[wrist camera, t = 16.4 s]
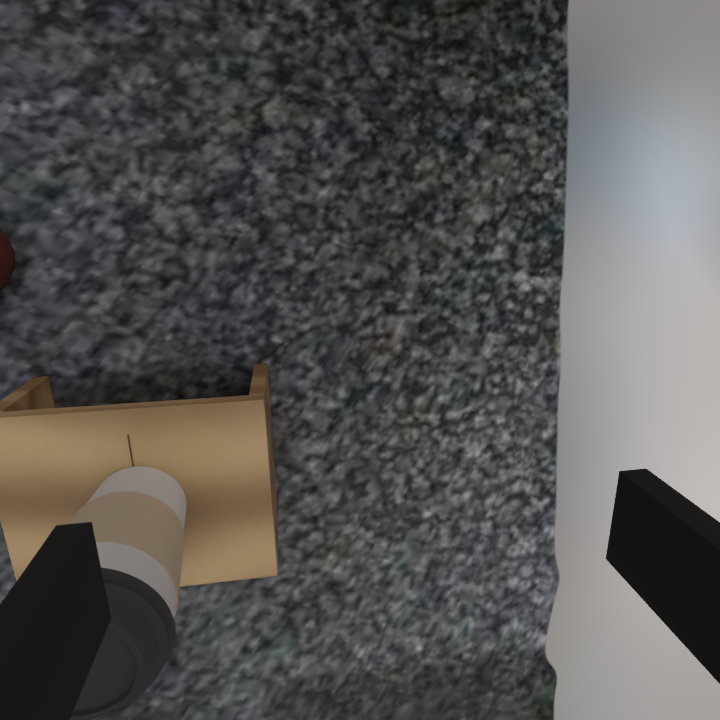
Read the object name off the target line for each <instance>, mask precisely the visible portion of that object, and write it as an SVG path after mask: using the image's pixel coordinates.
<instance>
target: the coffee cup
mask: <svg viewBox="0 0 720 720" xmlns="http://www.w3.org/2000/svg"><path fill="white" fill-rule="evenodd" d="M186 507H187V503H186V497H185V493H184V491H183V489H182V487H181V486H180V484H179V483H178V482H177V481H176V480H175V479H174V478H173V477H172V476H170V475H169V474H167V473H165V472H163V471H161V470H159V469H156V468H152V467H144V466H138V467H130V468H126V469H122V470H120V471H118V472H116V473H114V474H112V475H111V476H109V477H108V478H107V479H106V480H105V481H104V482H103V483H102V484H101V485H100V487H99V488H98V489H97V490H96V492H95V493H94V494H93V496H92V497H91V498H90V499H89V501H88V502H87V503H86V505H84V506H83V507H82V508H81V509H80V510H79V511H78V512H77V513H76V514H75V516H74V517H73V518H72V519H71V521H70V522H69V523H68V524H75V523H85V522H92V525H93V530H94V535H95V540H96V545H97V550H98V555H99V560H100V565H101V570H102V575H103V580H104V584H105V589H106V594H107V599H108V604H109V609H110V614H111V621H110V623H109V625H108V628H107V630H106V633H105V635H104V638H103V640H102V643H101V645H100V647H99V650H98V652H97V655H96V657H95V660H94V662H93V664H92V667H91V669H90V672H89V674H88V677H87V679H86V682H85V684H84V686H83V689H82V691H81V694H80V696H79V699H78V701H77V703H76V706H75V708H74V711H73V713H72V716H71V718H70V720H89V719H93V718H96V717H99V716H102V715H104V714H106V713H108V712H110V711H112V710H114V709H120V708H123V707H124V706H126V705H127V704H128V703H129V702H130V701H131V700H133V699H135V698H136V697H138V696H139V695H140V694H141V693H143V692H144V691H145V690H146V689H147V688H148V687H149V686H150V685H151V684H152V683H153V682H154V680H155V679H156V678H157V676H158V675H159V673H160V672H161V670H162V668H163V666H164V665H165V663H166V662H167V660H168V658H169V656H170V654H171V652H172V649H173V646H174V642H175V623H174V617H175V615H176V611H177V607H178V598H179V588H180V578H181V567H182V557H183V547H184V524H185V516H186Z"/></svg>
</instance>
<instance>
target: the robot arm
mask: <svg viewBox="0 0 720 720" xmlns="http://www.w3.org/2000/svg"><path fill="white" fill-rule="evenodd" d="M606 559H607V560H608V561H609V562H610V564H611V565H612V566H613V567H614V568H615V569H616V570H617V571H618V572H619V574H620V575H621V576H622V577H623V578H624V579H625V580H626V581H627V582H628V583H629V585H630V586H631V587H632V588H633V589H634V590H635V591H636V592H637V593H638V594H639V595H640V597H641V598H642V599H643V600H644V601H645V602H646V603H647V604H648V605H649V607H650V608H651V609H652V610H653V611H654V612H655V613H656V614H657V615H658V616H659V618H660V619H661V620H662V621H663V622H664V623H665V624H666V625H667V626H668V627H669V629H670V630H671V631H672V632H673V633H674V634H675V635H676V636H677V637H678V638H679V640H680V641H681V642H682V643H683V644H684V645H685V646H686V647H687V648H688V649H689V650H690V652H691V653H692V654H693V655H694V656H695V657H696V658H697V659H698V660H699V661H700V663H701V664H702V665H703V666H704V667H705V668H706V669H707V670H708V671H709V672H710V674H711V675H712V676H713V677H714V678H715V679H716V680H717V681H718V682H719V683H720V522H718V521H717V520H715V519H714V518H713V517H711V516H710V515H709V514H707V513H706V512H704V511H703V510H701V509H700V508H699V507H698V506H696V505H695V504H694V503H692V502H691V501H690V500H688V499H687V498H685V497H684V496H683V495H681V494H680V493H678V492H677V491H676V490H674V489H673V488H672V487H670V486H669V485H667V484H666V483H665V482H664V481H662V480H661V479H659V478H658V477H657V476H655V475H654V474H653V473H651V472H650V471H648V470H647V469H639V470H628V471H620V472H619V478H618V485H617V491H616V498H615V504H614V510H613V517H612V523H611V529H610V536H609V542H608V549H607V555H606ZM110 621H111V614H110V609H109V604H108V599H107V594H106V589H105V584H104V580H103V575H102V570H101V565H100V560H99V555H98V550H97V545H96V540H95V535H94V530H93V525H92V522H85V523H75V524H64V525H56V526H55V527H54V529H53V530H52V532H51V533H50V535H49V536H48V537H47V539H46V540H45V542H44V543H43V545H42V546H41V547H40V549H39V550H38V552H37V553H36V555H35V556H34V557H33V559H32V560H31V562H30V563H29V565H28V566H27V567H26V569H25V570H24V572H23V573H22V575H21V576H20V577H19V579H18V580H17V582H16V583H15V585H14V586H13V587H12V589H11V590H10V592H9V593H8V595H7V596H6V597H5V599H4V600H3V602H2V603H1V605H0V720H70V718H71V716H72V713H73V711H74V708H75V706H76V703H77V701H78V699H79V696H80V694H81V691H82V689H83V686H84V684H85V682H86V679H87V677H88V674H89V672H90V669H91V667H92V664H93V662H94V660H95V657H96V655H97V652H98V650H99V647H100V645H101V643H102V640H103V638H104V635H105V633H106V630H107V628H108V625H109V623H110Z"/></svg>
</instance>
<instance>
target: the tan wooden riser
mask: <svg viewBox="0 0 720 720" xmlns="http://www.w3.org/2000/svg"><path fill="white" fill-rule="evenodd" d="M138 466H144V467H152V468H156V469H159V470H161V471H163V472H165V473H167V474H169V475H170V476H172V477H173V478H174V479H175V480H176V481H177V482H178V483H179V484H180V486H181V487H182V489H183V491H184V493H185V497H186V503H187V507H186V516H185V524H184V547H183V557H182V567H181V578H180V587H182V586H191V585H199V584H208V583H217V582H226V581H234V580H243V579H252V578H260V577H269V576H277V575H278V501H277V487H276V474H275V460H274V447H273V434H272V420H271V407H270V393H269V380H268V366H267V363H264V364H254V368H253V374H252V380H251V386H250V392H249V395H246V396H231V397H216V398H201V399H186V400H171V401H156V402H141V403H126V404H111V405H96V406H81V407H66V408H55V404H54V400H53V395H52V390H51V386H50V381H49V377H48V376H43V377H34V378H32V379H31V380H30V381H28V382H27V383H25V384H24V385H22V386H21V387H20V388H18V389H17V390H15V391H14V392H13V393H11V394H10V395H8V396H7V397H5V398H4V399H3V400H1V401H0V521H1V525H2V528H3V532H4V536H5V540H6V543H7V547H8V551H9V555H10V558H11V562H12V566H13V570H14V573H15V577H16V581H17V580H18V579H19V577H20V576H21V575H22V573H23V572H24V570H25V569H26V567H27V566H28V565H29V563H30V562H31V560H32V559H33V557H34V556H35V555H36V553H37V552H38V550H39V549H40V547H41V546H42V545H43V543H44V542H45V540H46V539H47V537H48V536H49V535H50V533H51V532H52V530H53V529H54V527H55V526H56V525H64V524H68V523H69V522H70V521H71V519H72V518H73V517H74V516H75V514H76V513H77V512H78V511H79V510H80V509H81V508H82V507H83V506H84V505H86V503H87V502H88V501H89V499H90V498H91V497H92V496H93V494H94V493H95V492H96V490H97V489H98V488H99V487H100V485H101V484H102V483H103V482H104V481H105V480H106V479H107V478H108V477H109V476H111V475H112V474H114V473H116V472H118V471H120V470H122V469H126V468H130V467H138Z"/></svg>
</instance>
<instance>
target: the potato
mask: <svg viewBox="0 0 720 720" xmlns="http://www.w3.org/2000/svg"><path fill="white" fill-rule="evenodd" d="M14 266H15V252H14V250H13V247H12V245H11V243H10V241H9V238H8V237H7V235H6V234H5V233H4V232H3V231H2V230H1V229H0V290H1V289H2V288H3V287H5V285H6V284H7V282H8V280H9V278H10V276H11V274H12V272H13V270H14Z"/></svg>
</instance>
